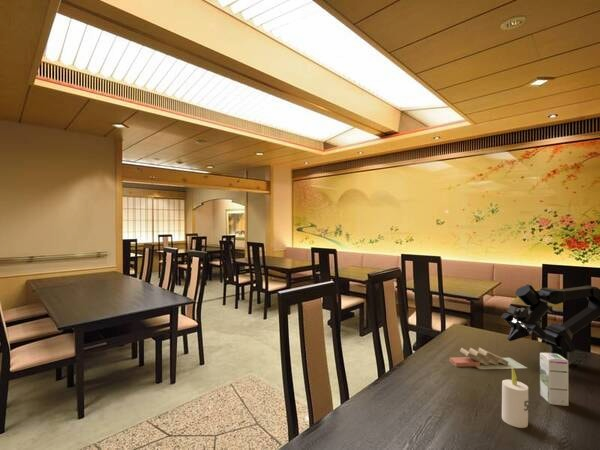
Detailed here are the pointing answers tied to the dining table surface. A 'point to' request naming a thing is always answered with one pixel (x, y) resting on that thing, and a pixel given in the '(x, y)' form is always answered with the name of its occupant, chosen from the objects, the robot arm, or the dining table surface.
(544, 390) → the syrup box
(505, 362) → the domino
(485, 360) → the domino
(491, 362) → the domino
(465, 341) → the dining table surface
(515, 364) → the mat
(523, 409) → the candle
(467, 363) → the domino
